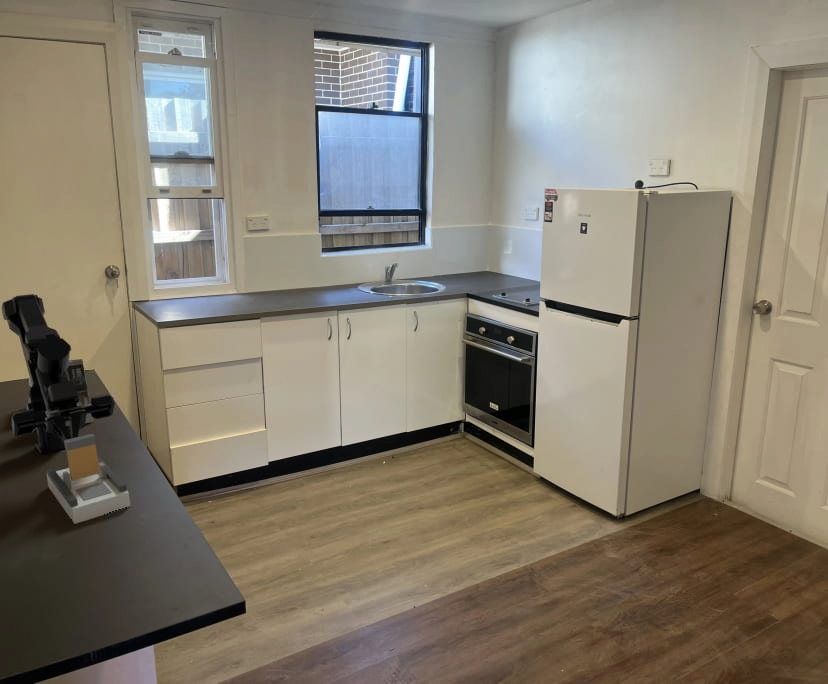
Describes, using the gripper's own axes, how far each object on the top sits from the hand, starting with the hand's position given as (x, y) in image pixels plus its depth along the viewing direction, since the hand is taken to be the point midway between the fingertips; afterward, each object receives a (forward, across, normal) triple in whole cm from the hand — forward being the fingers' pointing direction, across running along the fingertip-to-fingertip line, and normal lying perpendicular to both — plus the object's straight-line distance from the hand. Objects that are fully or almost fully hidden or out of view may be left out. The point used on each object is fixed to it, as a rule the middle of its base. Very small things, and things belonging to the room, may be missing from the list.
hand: (75, 450), depth 134 cm
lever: (+7, 0, 0) cm, 7 cm away
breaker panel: (+10, 0, +2) cm, 10 cm away
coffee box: (-25, +8, +36) cm, 45 cm away
